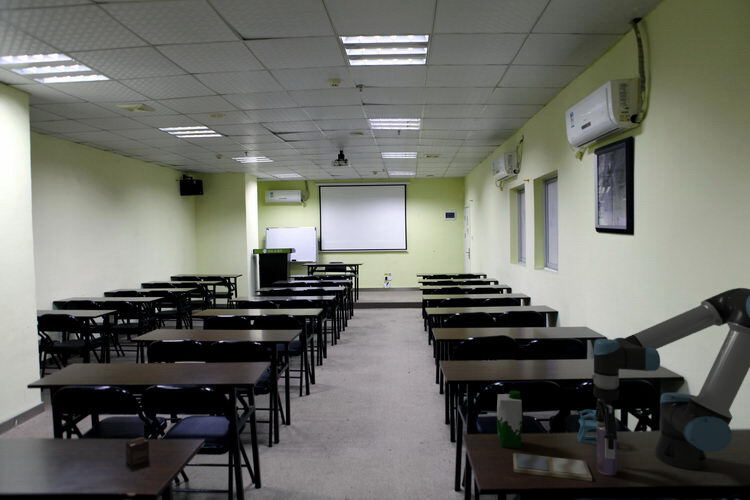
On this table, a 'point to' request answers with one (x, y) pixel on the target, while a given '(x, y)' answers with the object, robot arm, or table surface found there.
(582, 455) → the table surface
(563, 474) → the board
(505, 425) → the milk carton
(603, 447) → the beverage can
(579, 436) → the chair
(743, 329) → the robot arm
